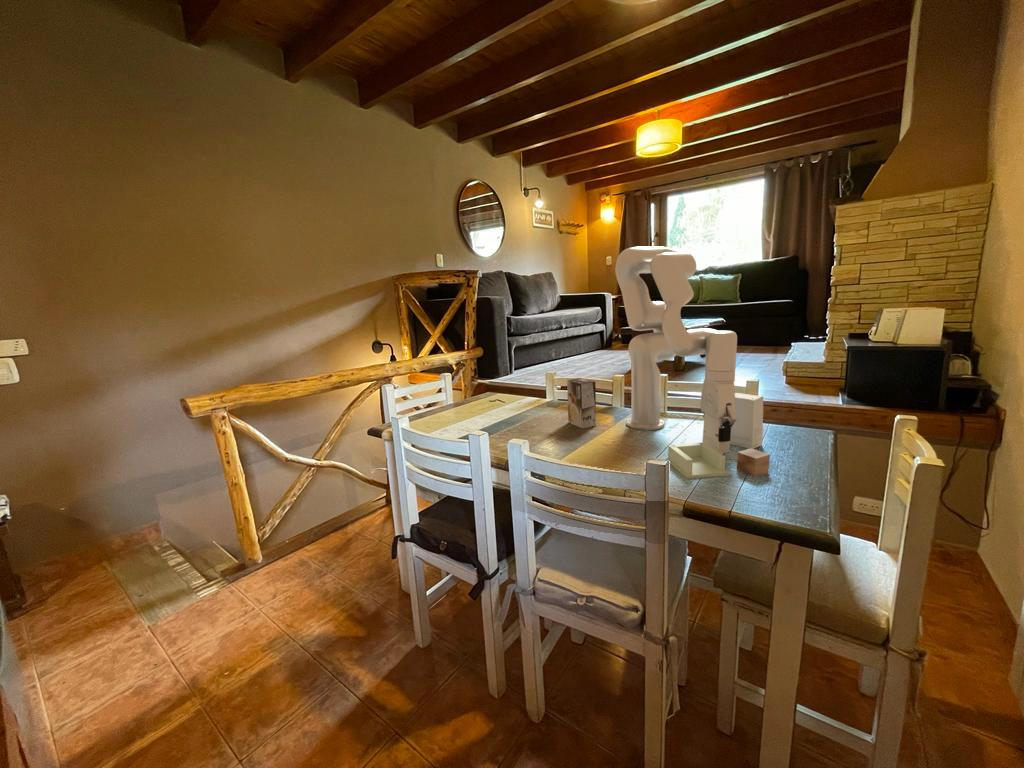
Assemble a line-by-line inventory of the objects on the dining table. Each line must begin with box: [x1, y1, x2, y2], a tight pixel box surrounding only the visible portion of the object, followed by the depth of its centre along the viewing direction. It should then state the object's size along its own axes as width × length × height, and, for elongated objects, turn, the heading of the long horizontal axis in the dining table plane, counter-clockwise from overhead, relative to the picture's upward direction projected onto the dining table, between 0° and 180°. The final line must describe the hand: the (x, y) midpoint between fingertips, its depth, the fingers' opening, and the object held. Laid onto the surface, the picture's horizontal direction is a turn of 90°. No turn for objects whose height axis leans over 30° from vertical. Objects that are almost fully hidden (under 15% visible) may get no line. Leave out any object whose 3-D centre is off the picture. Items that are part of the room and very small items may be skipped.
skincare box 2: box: [729, 392, 764, 449], centre depth 123 cm, size 8×6×15 cm
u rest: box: [665, 442, 731, 479], centre depth 110 cm, size 12×11×4 cm
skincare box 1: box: [701, 413, 730, 455], centre depth 120 cm, size 6×4×12 cm
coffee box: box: [566, 377, 597, 430], centre depth 149 cm, size 9×6×16 cm
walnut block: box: [736, 448, 771, 478], centre depth 106 cm, size 5×5×5 cm
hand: (716, 436), depth 120 cm, fingers closed on skincare box 1, 6 cm apart
